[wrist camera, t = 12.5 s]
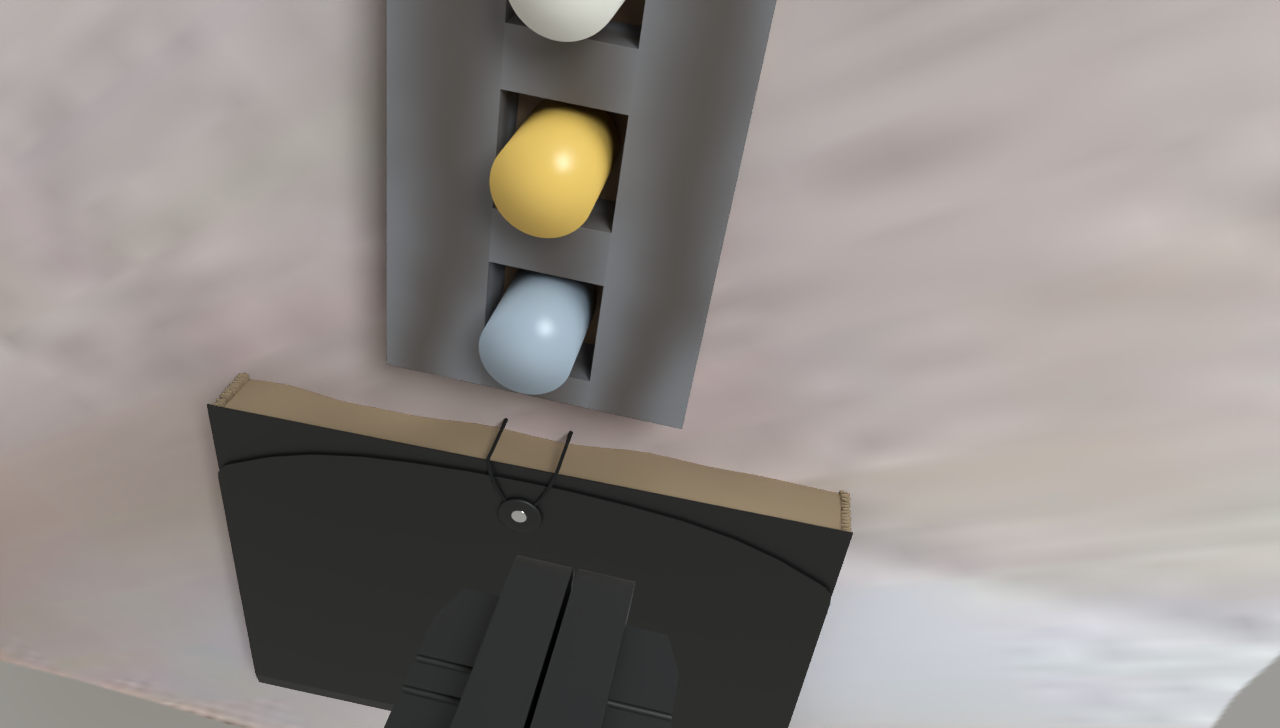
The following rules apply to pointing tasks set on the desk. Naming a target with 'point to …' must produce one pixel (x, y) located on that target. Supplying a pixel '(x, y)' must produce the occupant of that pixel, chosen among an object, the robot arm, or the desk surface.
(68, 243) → the desk surface
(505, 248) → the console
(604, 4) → the ivory button
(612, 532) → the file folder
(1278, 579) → the desk surface
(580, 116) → the amber button
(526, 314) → the slate button
